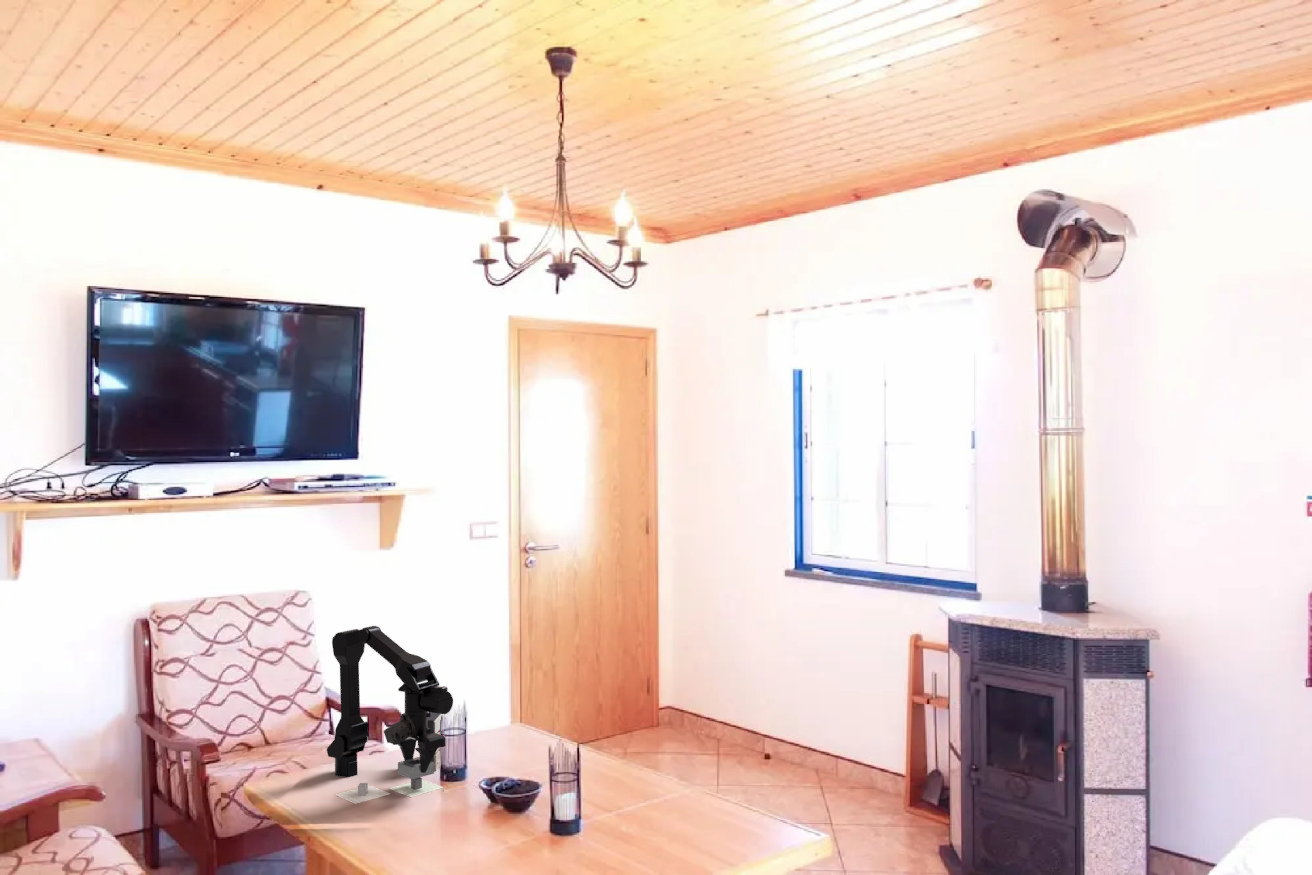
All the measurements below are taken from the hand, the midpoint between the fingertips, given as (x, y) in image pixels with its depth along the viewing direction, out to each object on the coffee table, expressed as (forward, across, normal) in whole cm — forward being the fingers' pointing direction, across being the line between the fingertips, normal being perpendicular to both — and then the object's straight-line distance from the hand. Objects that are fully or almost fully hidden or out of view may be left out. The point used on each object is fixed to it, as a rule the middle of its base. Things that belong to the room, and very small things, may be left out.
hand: (416, 769), depth 263 cm
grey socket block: (+1, 0, 0) cm, 1 cm away
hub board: (+6, 0, 0) cm, 6 cm away
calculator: (+6, -13, +14) cm, 20 cm away
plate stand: (+6, -6, -12) cm, 15 cm away
